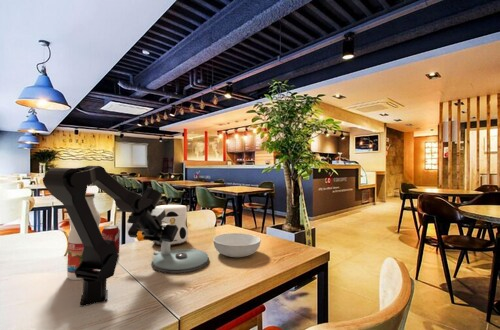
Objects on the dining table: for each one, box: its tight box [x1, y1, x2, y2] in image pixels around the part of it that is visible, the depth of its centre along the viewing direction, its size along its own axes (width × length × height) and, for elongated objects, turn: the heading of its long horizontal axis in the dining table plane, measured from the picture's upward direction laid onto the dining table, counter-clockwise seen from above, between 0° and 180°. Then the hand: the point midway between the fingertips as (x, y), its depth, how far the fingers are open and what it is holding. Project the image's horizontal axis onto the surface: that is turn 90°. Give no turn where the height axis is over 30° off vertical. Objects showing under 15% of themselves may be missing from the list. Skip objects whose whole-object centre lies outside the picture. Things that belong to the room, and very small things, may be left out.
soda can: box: [101, 224, 121, 255], centre depth 107 cm, size 7×7×12 cm
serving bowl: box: [212, 232, 261, 258], centre depth 113 cm, size 21×21×7 cm
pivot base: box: [150, 253, 210, 275], centre depth 102 cm, size 24×22×5 cm
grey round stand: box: [152, 224, 209, 270], centre depth 101 cm, size 21×23×13 cm
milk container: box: [152, 204, 189, 247], centre depth 126 cm, size 17×17×18 cm
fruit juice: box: [66, 192, 102, 281], centre depth 88 cm, size 9×9×28 cm
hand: (161, 242), depth 103 cm, fingers closed
